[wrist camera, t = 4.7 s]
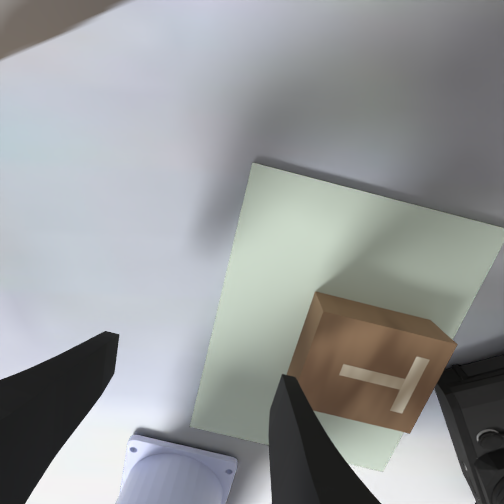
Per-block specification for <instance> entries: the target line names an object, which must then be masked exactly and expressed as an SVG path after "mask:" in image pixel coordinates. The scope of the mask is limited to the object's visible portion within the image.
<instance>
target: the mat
mask: <svg viewBox="0 0 504 504" xmlns="http://www.w3.org/2000/svg"><path fill="white" fill-rule="evenodd" d="M503 243H504V228H502V227H498V226H494V225H490V224H487V223H483V222H479V221H475V220H471V219H467V218H464V217H460V216H456V215H452V214H448V213H444V212H441V211H437V210H433V209H429V208H425V207H421V206H418V205H414V204H410V203H406V202H402V201H398V200H395V199H391V198H387V197H383V196H379V195H375V194H371V193H368V192H364V191H360V190H356V189H352V188H348V187H345V186H341V185H337V184H333V183H329V182H325V181H322V180H318V179H314V178H310V177H306V176H302V175H299V174H295V173H291V172H287V171H283V170H279V169H276V168H272V167H268V166H264V165H260V164H256V163H252V166H251V170H250V175H249V179H248V183H247V187H246V191H245V196H244V200H243V204H242V208H241V212H240V217H239V221H238V225H237V229H236V233H235V238H234V242H233V246H232V250H231V255H230V259H229V263H228V267H227V271H226V276H225V280H224V284H223V288H222V292H221V297H220V301H219V305H218V309H217V313H216V318H215V322H214V326H213V330H212V335H211V339H210V343H209V347H208V351H207V356H206V360H205V364H204V368H203V372H202V377H201V381H200V385H199V389H198V393H197V398H196V402H195V406H194V410H193V415H192V419H191V423H190V427H192V428H196V429H201V430H205V431H209V432H213V433H218V434H222V435H226V436H231V437H235V438H239V439H243V440H248V441H252V442H256V443H261V444H265V445H269V438H268V433H269V414H270V408H271V405H272V402H273V399H274V396H275V393H276V390H277V387H278V384H279V381H280V378H281V375H282V374H285V375H287V372H288V369H289V366H290V363H291V360H292V357H293V354H294V351H295V348H296V345H297V343H298V340H299V337H300V334H301V331H302V328H303V325H304V322H305V319H306V316H307V313H308V310H309V308H310V305H311V302H312V299H313V296H314V293H315V291H316V292H320V293H324V294H328V295H332V296H336V297H340V298H344V299H348V300H352V301H356V302H360V303H364V304H368V305H372V306H376V307H380V308H384V309H389V310H393V311H397V312H401V313H405V314H409V315H413V316H417V317H421V318H425V319H429V320H431V321H432V322H433V323H434V324H436V325H437V326H438V327H439V328H440V329H441V330H442V331H443V332H444V333H445V334H447V335H448V336H449V337H450V338H451V339H452V340H453V338H454V336H455V334H456V332H457V331H458V329H459V327H460V325H461V323H462V321H463V319H464V317H465V315H466V314H467V312H468V310H469V308H470V306H471V304H472V302H473V300H474V298H475V296H476V295H477V293H478V291H479V289H480V287H481V285H482V283H483V281H484V279H485V278H486V276H487V274H488V272H489V270H490V268H491V266H492V264H493V262H494V260H495V259H496V257H497V255H498V253H499V251H500V249H501V247H502V245H503ZM314 413H315V414H316V416H317V418H318V420H319V421H320V423H321V425H322V427H323V428H324V430H325V432H326V433H327V435H328V436H329V438H330V439H331V441H332V442H333V444H334V445H335V447H336V448H337V450H338V451H339V453H340V454H341V455H342V457H343V458H344V459H345V461H346V462H347V463H348V464H351V465H355V466H359V467H363V468H368V469H372V470H376V471H381V472H383V471H384V469H385V467H386V465H387V463H388V461H389V459H390V458H391V456H392V454H393V452H394V450H395V448H396V446H397V444H398V442H399V441H400V439H401V437H402V435H403V433H404V432H401V431H397V430H393V429H388V428H384V427H380V426H376V425H371V424H367V423H363V422H359V421H355V420H350V419H346V418H342V417H338V416H334V415H329V414H325V413H321V412H317V411H314Z"/></svg>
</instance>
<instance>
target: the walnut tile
mask: <svg viewBox="0 0 504 504" xmlns="http://www.w3.org/2000/svg"><path fill="white" fill-rule="evenodd" d="M457 345H458V344H457V343H455V342H454V341H453V340H452V339H451V338H450V337H449V336H448V335H447V334H445V333H444V332H443V331H442V330H441V329H440V328H439V327H438V326H437V325H436V324H434V323H433V322H432V321H431V320H429V319H425V318H421V317H417V316H413V315H409V314H405V313H401V312H397V311H393V310H389V309H384V308H380V307H376V306H372V305H368V304H364V303H360V302H356V301H352V300H348V299H344V298H340V297H336V296H332V295H328V294H324V293H320V292H316V291H315V293H314V296H313V299H312V302H311V305H310V308H309V310H308V313H307V316H306V319H305V322H304V325H303V328H302V331H301V334H300V337H299V340H298V343H297V345H296V348H295V351H294V354H293V357H292V360H291V363H290V366H289V369H288V372H287V375H289V376H293V377H296V379H297V380H298V382H299V384H300V386H301V388H302V390H303V392H304V394H305V396H306V398H307V400H308V402H309V404H310V405H311V407H312V409H313V411H317V412H321V413H325V414H329V415H334V416H338V417H342V418H346V419H350V420H355V421H359V422H363V423H367V424H371V425H376V426H380V427H384V428H388V429H393V430H397V431H401V432H405V433H409V434H410V432H411V430H412V429H413V427H414V425H415V423H416V421H417V419H418V417H419V416H420V414H421V412H422V410H423V408H424V406H425V404H426V402H427V401H428V399H429V397H430V395H431V393H432V391H433V389H434V388H435V386H436V384H437V382H438V380H439V378H440V376H441V375H442V373H443V371H444V369H445V367H446V365H447V363H448V361H449V360H450V358H451V356H452V354H453V352H454V350H455V348H456V347H457Z"/></svg>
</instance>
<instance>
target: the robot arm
mask: <svg viewBox="0 0 504 504" xmlns="http://www.w3.org/2000/svg"><path fill="white" fill-rule="evenodd" d="M118 341H119V334H115V333H111V332H107V331H105V332H103V333H101V334H99V335H97V336H95V337H93V338H91V339H89V340H87V341H85V342H83V343H81V344H79V345H77V346H75V347H73V348H72V349H70V350H68V351H66V352H64V353H62V354H60V355H58V356H55V357H53V358H51V359H49V360H47V361H44V362H42V363H40V364H38V365H36V366H34V367H31V368H29V369H27V370H24V371H22V372H20V373H17V374H15V375H12V376H9V377H7V378H4V379H1V380H0V504H25V503H26V501H27V499H28V498H29V496H30V495H31V493H32V491H33V490H34V488H35V487H36V485H37V483H38V482H39V480H40V479H41V477H42V476H43V474H44V473H45V471H46V469H47V468H48V466H49V465H50V463H51V462H52V460H53V459H54V457H55V456H56V455H57V453H58V452H59V450H60V449H61V448H62V446H63V445H64V444H65V442H66V441H67V440H68V439H69V437H70V436H71V435H72V433H73V432H74V431H75V429H76V428H77V427H78V425H79V424H80V423H81V422H82V420H83V419H84V418H85V416H86V415H87V414H88V412H89V411H90V410H91V408H92V407H93V406H94V404H95V403H96V402H97V400H98V399H99V398H100V396H101V395H102V393H103V392H104V390H105V388H106V387H107V385H108V383H109V382H110V380H111V378H112V376H113V375H114V372H115V364H116V356H117V348H118ZM268 438H269V457H270V474H271V491H272V504H381V503H380V502H379V501H378V500H377V499H376V497H375V496H374V495H373V494H372V493H371V492H370V491H369V489H368V488H367V487H366V486H365V485H364V483H363V482H362V481H361V480H360V479H359V477H358V476H357V475H356V474H355V472H354V471H353V470H352V469H351V467H350V466H349V465H348V463H347V462H346V461H345V459H344V458H343V457H342V455H341V454H340V453H339V451H338V450H337V448H336V447H335V445H334V444H333V442H332V441H331V439H330V438H329V436H328V435H327V433H326V432H325V430H324V428H323V427H322V425H321V423H320V421H319V420H318V418H317V416H316V414H315V413H314V411H313V409H312V407H311V405H310V404H309V402H308V400H307V398H306V396H305V394H304V392H303V390H302V388H301V386H300V384H299V382H298V380H297V379H296V377H293V376H289V375H285V374H282V375H281V378H280V381H279V384H278V387H277V390H276V393H275V396H274V399H273V402H272V405H271V408H270V414H269V433H268ZM237 465H238V461H237V459H235V458H234V457H231V456H227V455H222V454H218V453H214V452H209V451H205V450H201V449H196V448H192V447H188V446H183V445H179V444H175V443H170V442H166V441H162V440H157V439H153V438H149V437H145V436H140V435H132V436H131V437H130V439H129V441H128V444H127V450H126V457H125V463H124V469H123V475H122V482H121V488H120V494H119V497H118V499H117V501H116V503H115V504H226V501H227V498H228V495H229V492H230V489H231V486H232V482H233V479H234V476H235V473H236V470H237Z"/></svg>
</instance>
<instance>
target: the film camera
mask: <svg viewBox="0 0 504 504" xmlns="http://www.w3.org/2000/svg"><path fill="white" fill-rule="evenodd" d="M435 391H436V394H437V397H438V400H439V403H440V406H441V409H442V412H443V415H444V418H445V421H446V424H447V427H448V430H449V433H450V436H451V439H452V442H453V445H454V448H455V451H456V454H457V457H458V460H459V463H460V466H461V469H462V472H463V475H464V477H465V478H466V480H467V482H468V484H469V486H470V488H471V490H472V493H473V495H474V498H475V500H476V503H475V504H504V355H501V356H497V357H493V358H490V359H486V360H482V361H478V362H474V363H470V364H466V365H463V366H460V367H459V365H458V364H456V365H452V368H451V369H447V370H444V371H443V373H442V375H441V376H440V378H439V380H438V382H437V384H436V386H435Z"/></svg>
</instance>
